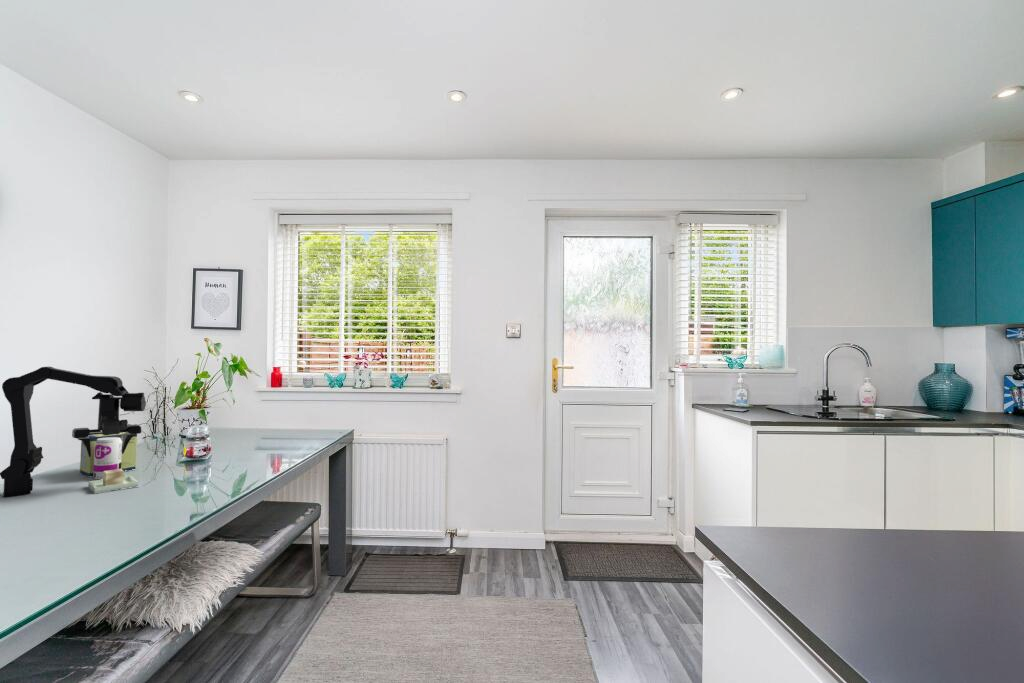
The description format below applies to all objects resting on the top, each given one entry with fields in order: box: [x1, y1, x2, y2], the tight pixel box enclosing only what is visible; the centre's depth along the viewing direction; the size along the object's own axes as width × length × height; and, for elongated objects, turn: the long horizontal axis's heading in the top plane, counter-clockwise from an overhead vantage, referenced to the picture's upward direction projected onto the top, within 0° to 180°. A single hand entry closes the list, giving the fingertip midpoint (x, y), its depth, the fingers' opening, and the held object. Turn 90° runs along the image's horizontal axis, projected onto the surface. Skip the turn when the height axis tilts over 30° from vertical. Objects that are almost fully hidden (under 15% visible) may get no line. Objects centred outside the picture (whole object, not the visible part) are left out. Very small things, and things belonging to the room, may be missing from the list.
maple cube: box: [103, 469, 125, 486], centre depth 177 cm, size 5×5×5 cm
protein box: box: [79, 432, 138, 478], centre depth 199 cm, size 10×16×16 cm
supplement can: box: [92, 437, 122, 480], centre depth 190 cm, size 8×8×15 cm
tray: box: [88, 475, 139, 494], centre depth 177 cm, size 12×12×2 cm
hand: (106, 455), depth 177 cm, fingers open, 9 cm apart
